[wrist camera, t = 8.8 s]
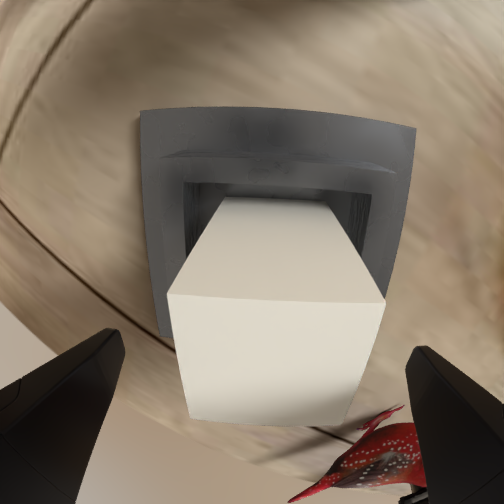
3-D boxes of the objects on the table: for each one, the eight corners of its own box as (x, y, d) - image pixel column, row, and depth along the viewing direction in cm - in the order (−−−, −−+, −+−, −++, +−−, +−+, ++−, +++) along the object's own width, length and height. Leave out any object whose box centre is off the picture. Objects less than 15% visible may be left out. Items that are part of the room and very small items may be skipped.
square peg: (315, 288, 17) (341, 424, 8) (226, 284, 17) (190, 418, 9) (325, 201, 14) (385, 303, 6) (225, 196, 15) (166, 293, 7)
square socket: (365, 339, 19) (379, 381, 15) (164, 327, 20) (145, 367, 16) (408, 127, 13) (445, 131, 10) (147, 111, 14) (111, 110, 10)
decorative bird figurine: (443, 384, 21) (479, 469, 12) (295, 458, 27) (295, 535, 18) (436, 371, 20) (475, 463, 11) (279, 450, 26) (277, 532, 17)
